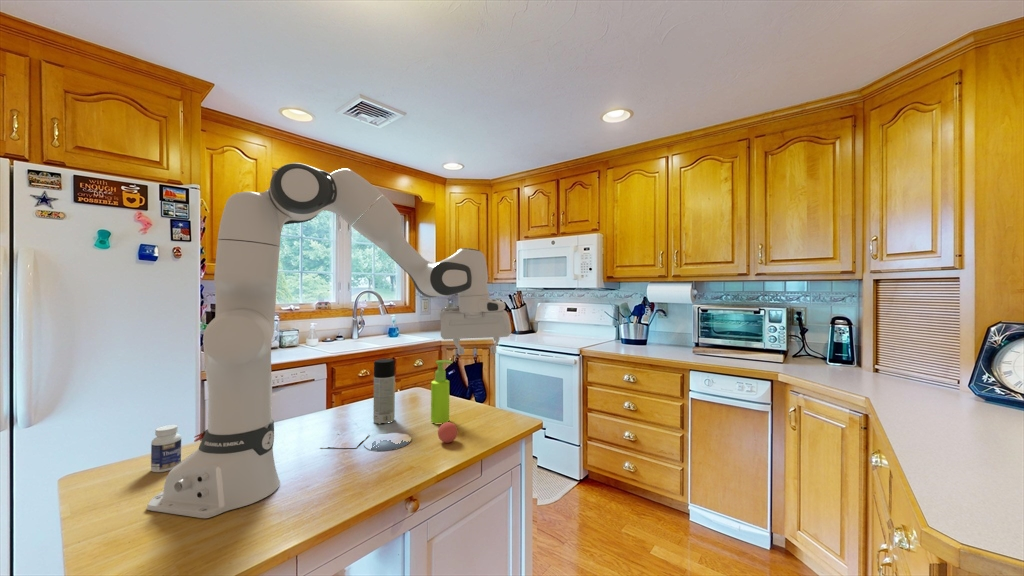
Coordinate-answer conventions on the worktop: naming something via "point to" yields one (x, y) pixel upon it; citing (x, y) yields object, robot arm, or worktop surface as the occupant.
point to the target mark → (387, 445)
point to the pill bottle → (165, 449)
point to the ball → (447, 432)
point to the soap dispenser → (440, 395)
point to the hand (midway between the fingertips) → (477, 353)
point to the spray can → (384, 390)
